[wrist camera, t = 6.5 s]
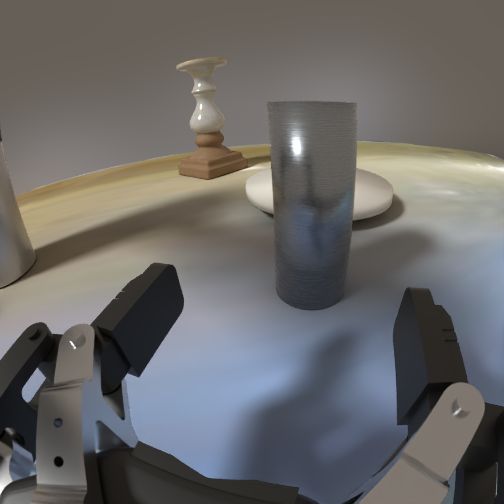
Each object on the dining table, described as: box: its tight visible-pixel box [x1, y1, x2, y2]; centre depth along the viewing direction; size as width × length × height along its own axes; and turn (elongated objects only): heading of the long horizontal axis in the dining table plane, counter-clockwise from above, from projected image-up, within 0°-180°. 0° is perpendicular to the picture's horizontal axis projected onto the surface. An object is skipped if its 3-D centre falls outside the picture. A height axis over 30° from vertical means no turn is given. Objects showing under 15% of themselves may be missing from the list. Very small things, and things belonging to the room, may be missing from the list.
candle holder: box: [176, 58, 248, 180], centre depth 52 cm, size 11×11×24 cm
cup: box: [267, 101, 357, 310], centre depth 19 cm, size 6×6×14 cm
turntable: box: [246, 168, 393, 220], centre depth 37 cm, size 20×20×2 cm
